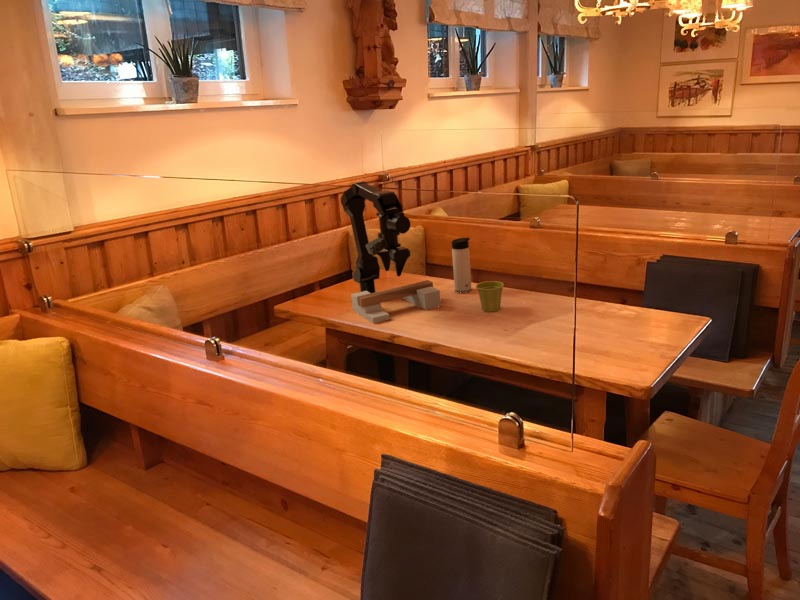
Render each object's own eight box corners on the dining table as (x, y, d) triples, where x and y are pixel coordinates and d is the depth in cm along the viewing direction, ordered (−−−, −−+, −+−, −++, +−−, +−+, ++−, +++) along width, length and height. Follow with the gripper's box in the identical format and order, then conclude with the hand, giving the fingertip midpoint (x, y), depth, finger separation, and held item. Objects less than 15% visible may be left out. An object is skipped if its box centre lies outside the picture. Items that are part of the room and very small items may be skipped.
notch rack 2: (402, 298, 250) (401, 282, 248) (416, 294, 252) (415, 279, 250) (425, 310, 234) (424, 293, 232) (440, 306, 237) (439, 290, 235)
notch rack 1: (352, 310, 242) (350, 294, 240) (368, 306, 244) (366, 290, 242) (373, 323, 226) (371, 306, 224) (389, 319, 229) (387, 302, 227)
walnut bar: (357, 304, 234) (356, 296, 233) (428, 288, 245) (427, 280, 244) (361, 307, 231) (360, 298, 230) (433, 290, 242) (432, 282, 241)
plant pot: (471, 311, 229) (469, 286, 226) (487, 303, 236) (486, 279, 233) (494, 315, 223) (492, 290, 220) (510, 307, 229) (509, 283, 227)
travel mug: (471, 293, 248) (468, 240, 242) (453, 293, 249) (450, 240, 243) (473, 288, 254) (470, 236, 248) (455, 288, 255) (452, 236, 249)
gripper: (356, 229, 235) (361, 272, 240) (378, 237, 219) (383, 284, 224) (385, 224, 240) (389, 266, 245) (409, 231, 224) (413, 277, 228)
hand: (393, 273), depth 235 cm, fingers open, 9 cm apart
